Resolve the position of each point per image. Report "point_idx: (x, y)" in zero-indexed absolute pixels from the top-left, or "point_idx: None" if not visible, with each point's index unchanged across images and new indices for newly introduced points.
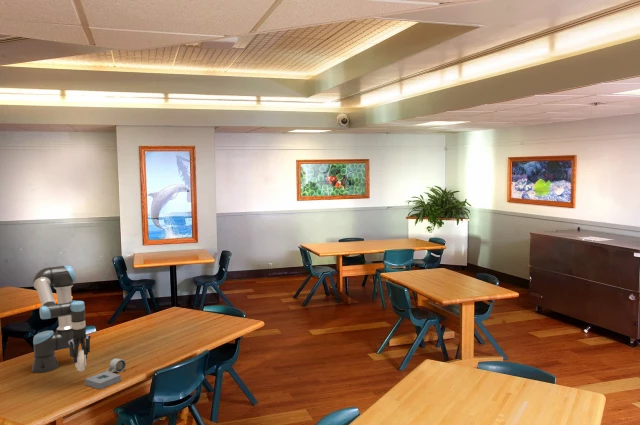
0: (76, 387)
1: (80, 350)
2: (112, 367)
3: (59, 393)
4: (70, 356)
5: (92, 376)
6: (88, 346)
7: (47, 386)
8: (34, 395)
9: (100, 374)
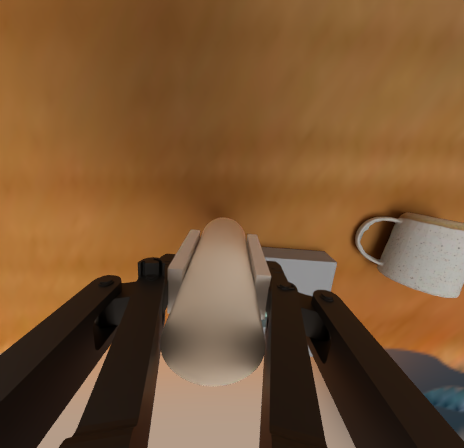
0: (184, 234)
1: (211, 358)
2: (392, 248)
3: (106, 222)
4: (96, 284)
5: None
6: (344, 405)
7: (119, 82)
8: (24, 132)
9: (292, 275)
